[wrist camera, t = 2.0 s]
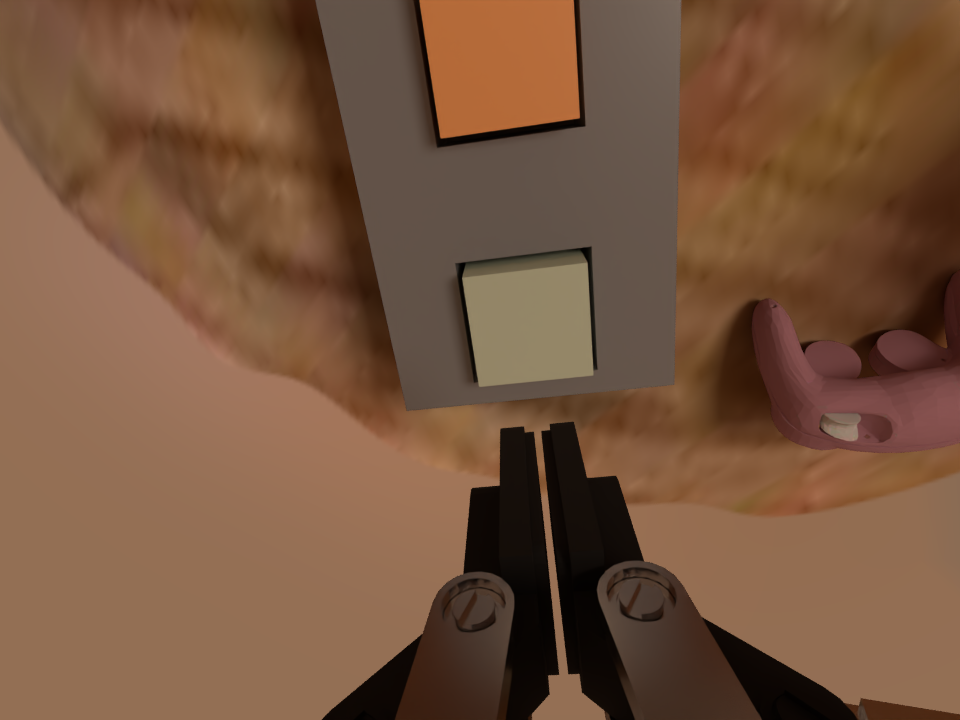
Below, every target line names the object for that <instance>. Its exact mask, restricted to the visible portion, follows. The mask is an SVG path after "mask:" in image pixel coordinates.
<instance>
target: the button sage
mask: <svg viewBox="0 0 960 720" xmlns="http://www.w3.org/2000/svg"><path fill="white" fill-rule="evenodd" d="M462 280H463V286H464V293H465V299H466V306H467V312H468V319H469V325H470V331H471V338H472V344H473V351H474V357H475V364H476V370H477V377H478V383H479V387H484V386H494V385H504V384H514V383H524V382H534V381H544V380H554V379H564V378H574V377H584V376H593V357H592V338H591V319H590V300H589V281H588V263H587V261H586V259H585V257H584V255H583V253H582V252H581V250H580V248H575V249H567V250H559V251H551V252H542V253H534V254H526V255H518V256H510V257H502V258H494V259H486V260H478V261H470V262H466V265H465V269H464V273H463V277H462Z"/></svg>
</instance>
